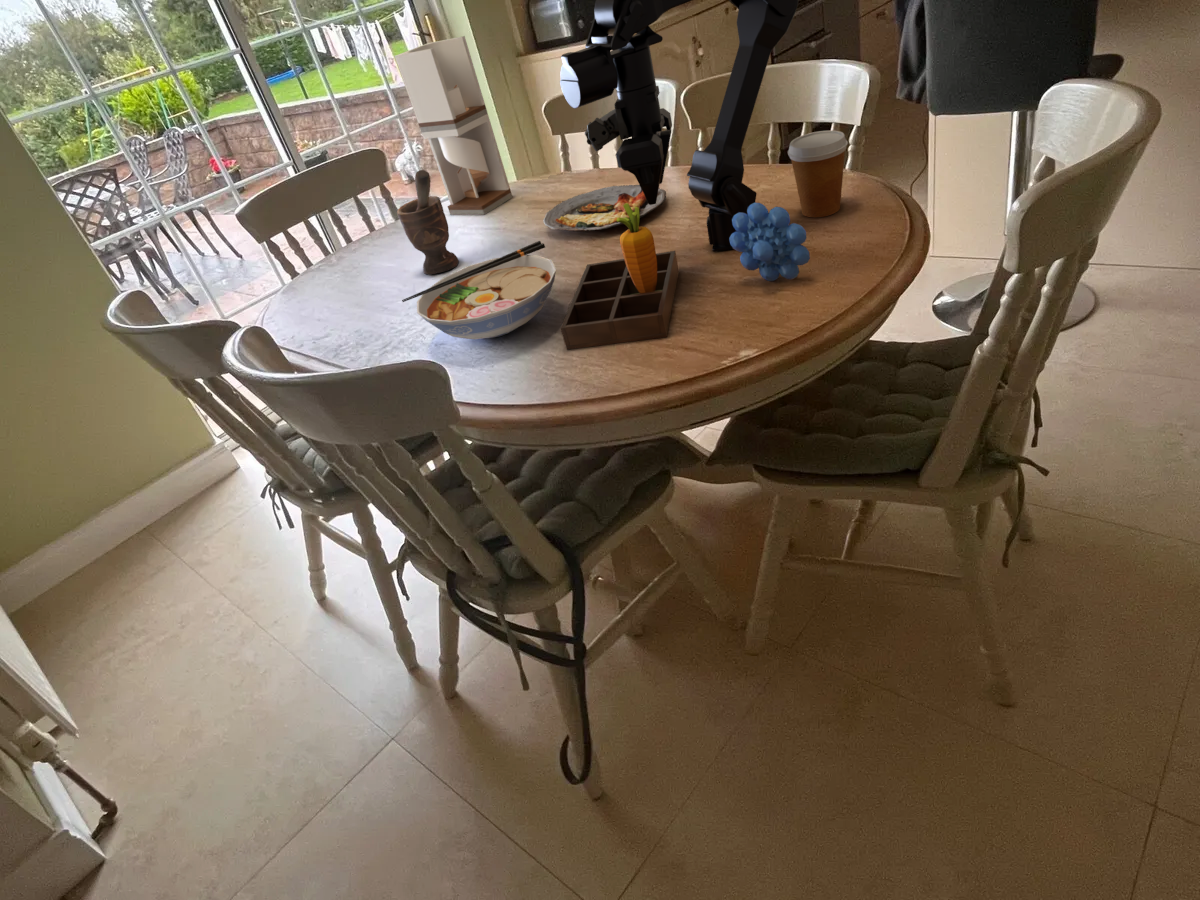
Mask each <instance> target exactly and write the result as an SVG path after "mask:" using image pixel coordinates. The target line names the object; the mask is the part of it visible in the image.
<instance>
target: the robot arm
mask: <svg viewBox="0 0 1200 900" xmlns="http://www.w3.org/2000/svg"><path fill="white" fill-rule="evenodd" d="M691 1H693V0H595V2H594V8H593V13H594V17H593V20H592V23H591V26H590V29H589V33H588V36H587V40H586V43H585V48H582V49H579V50H577V51H570V52H569V51H568V52H565V53H563V54H561V56H560V58H561V62H562V65H561V66H560V73H559V74H560V76H559V77H560V80H559V84H560V88H561V92H562V94H563V97H564V99H565V100H566V102H567V104H568V105H569V106H570V107H571V108H572V109H578V108H581V107H583V106H586V105H589V104H591V103H594V102H597V101H600V100H603V99H605V98H608V97H611V96H612V95H614V91H616V96H617V99H616V101H615V102H614V104H613V106H614V108H613V109H612V110H610V111H609V112H607V113H605V114H604V115H603V116H601V117H600V118H599V117H595V118H594V120H593V121H590V122H588V124H587V125H586V127H587V128H586V130H585V131H584V135H585V137H586V143H587V145H589V146H592V148H593V149H594V151H595V152H596V153H597V152H599V151H601V150H602V149H603V148H604V146H606V145H608V144H609V143H611V142H612V141H614V140H615V139H617V138H618V137H619V138H620V139H619V140H620V141H622V142H621V143H620V145H619V147H618V148H617V151H616V153H615V157H616V162H617V166H618V168H619V169H621V170H622V171H625V172H629V173H630V174H632V175H634V177H635V179H636V181H637V183H638V185H640V187H641V189H642V191H643V193H644V195H645V197H646V199H647V201H648V204H649V205H652V204H656V202H657V196H658V189H659V188H660V185H662V183H663V180H664V175H665V169H666V164H667V158H668V153H669V146H670V142H671V137H672V128H673V121H672V116H671V112H670V111H668V110H667V109H665V108H664V107H663V108H661V106H660V100H659V95H660V88H659V85H657V82H656V76H655V70H654V65H653V59H652V53H651V49H650V46H653V45H656V44H659V43H661V42H662V41H663V40H664V37H663V36H662V35H661V34H659V33H657V32H656V31H654V30H653V29H652V28H651V25H652V24H654V23H655V22H657V21H658V20H659V19H660V18H661V17H662V16H663V15H664V14H665V13H667V12H668V11H670V10H671V9H673V8H676V7H679V6H682V5H684V4H686V3H689V2H691ZM728 2H729V3H730V4H731V5H732V6H734V7H735V8H736V9H737V10H738V12H737V17H736V27H737V35H738V41H739V43H738V48H737V52H736V55H735V59H734V62H733V66H732V69H731V71H730V72H731V73H730V76H729V79H728V83H727V86H726V89H725V93H724V97H723V100H722V103H721V106H720V110H719V114H718V117H717V120H716V124H715V128H714V131H713V134H712V137H711V141H710V143H708V145H707V146H706V147H705V149H704V150H700V149H695V151H694V152H693V155H692V161H691V166H690V168H689V170H688V172H687V173H686V176H687V177H689V178H688V183H687V185H688V189H689V191H690V193H691V196H693V198H694V199H696V200H698V202H699V204H700V206H701V208H706V209H708V216H706V217H707V218H706V228H707V235H708V241H709V242H708V243H709V245H710V246H712V248H711V249H712V252H713V253H716V252H722V251H728V250H729V251H730V250H734V249H733V248H732V246H731V244H730V240H729V238H730V236H731V234H732V233H734V232H736V230H735V228H734V227H733V224H732V219H733V216H734V215H735V214H737V213H739V212H741V213H746V214H747V215H748V213H747V209H748V207H749V206H750V205H751V204H753V203H754V202H756V200H757V195H758V194H757V191H755V190H753V189H752V188H751V187H749V186H748V185H746V184H745V183H743V180H744V179H743V178H744V174H745V166H744V159H743V153H742V149H743V146H744V142H745V139H746V135H747V133H748V128H749V125H750V122H751V119H752V115H753V112H754V109H755V106H756V103H757V100H758V96H759V93H760V89H761V86H762V82H763V79H764V75H765V73H766V69H767V66H768V64H769V60H770V57H771V54H772V51H773V49H775V48H776V46H777V45H778V44H779V42H780V41H781V40H782V38H784V36H785V35H786V33H787V32H788V30H789V28H790V26H791V23H792V21H793V19H794V16H795V14H796V12H797V9H798V5H799V0H728ZM663 128H665V129H666V130H663Z"/></svg>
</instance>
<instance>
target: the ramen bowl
mask: <svg viewBox="0 0 1200 900" xmlns="http://www.w3.org/2000/svg"><path fill="white" fill-rule="evenodd" d="M545 245H546V244H545V243H542V241H541V240H537V241H535V242H533V243H531V244H529V245H526V246H524V247H521V248H519V249H518V250H515V251H511V252H510V253H508V254H505V255H503V256H501V257H494V258H491V259H487V260H483V261H481V262H477V263H473V264H470V265H468V266H465V267H463V268H461V269H458V270H456V271H455V272H452V273H450V274H448V275H446V276H444V277H443V278H440V280H438V281H436V282H435V283H434V284H432V285H431V286H429V287H427V289H424V290H421V291H420V292H417V293H414V294H413V295H411V296H408V297H406V298H403V299H401V302H402V303H404V302H407V301H410V300H412V299H414V298H418V297H419V299H418V300H417V301H416V313H417V314H418V315H419V316H420V317H421V318H422V319H423V320H424V321H426V322H427V323H429V324H430V325H431V326H433V327H435V328H436V329H438V330H439V331H441V332H443V333H444V334H446V335H448V336H451V337H454V338H459V339H467V340H468V339H469V340H480V339H493V338H494V339H495V338H500V337H502V336H505V335H508V334H510V333H512V332H514V331H515V330H516V329H518V328H519V327H521V326H523V325H525V324H527V323H528V322H529V321H530V320H531V319H533V318H534V317H535V316H537V315H538V314H539V312H540V311H541V310H542V309H543V307H544V306H545V303H546V301H547V300H548V298H549V296H550V293H551V291H552V288H553V285H554V282H555V279H556V274H557V268H556V266H555V264H554V262H553V260H552V259H550V258H547V257H544V256H541V255H539V254H533V253H535V252H538V251H541V250H543V249H546V246H545Z"/></svg>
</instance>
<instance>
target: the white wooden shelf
mask: <svg viewBox="0 0 1200 900" xmlns="http://www.w3.org/2000/svg"><path fill="white" fill-rule="evenodd" d="M469 49H470V48H469V46H468V43H467V40H466V36H465V35H463V36H458V37H452V38H448V39H447V38H446V39H443V40H436V41H431V42H428V43H427V42H426V43H425V44H422V45H419V46H417V47H415V48H412V49H409V50H407V51H404V52H402V53H399V54H396V55H394V59H395V62H396V64H397V67H398V71H399V73H400V76H401V78H402V81H403V84H404V87H405V90H406V93H407V96H408V99H409V101H410V105H411V107H412V110H413V113H414V116H415V118H416V122H417V124H418V127H419V130H420V132H421V135H422V138H423V140H425V139H427V141H428V144H429V147H430V149H431V152H432V155H433V158H434V161H435V164H436V167H437V171H438V172H439V175H440V178H441V181H442V184H443V186H444V189H445V192H446V196H447V198H448V202H449V204H448V205H447V209H448V212H449V215H450V216H474V215H475V216H485V215H486V214H488V213H490V212H491V211H493V210H494V209H496V208H497V207H499V206H501V205H502V204H504V203H506V202H507V201H508V200H510V199H512V198H513V194H512V191H511V186H510V183H509V180H508V177H507V173H506V170H505V167H504V164H503V159H502V156H501V153H500V150H499V145H498V144H497V140H496V136H495V133H494V130H493V126H492V124H491V120H490V116H489V113H488V110H487V107H486V104H485V99H484V95H483V93H482V89H481V85H480V83H479V79H478V76H477V73H476V69H475V66H474V63H473V59H472V56H471V52H470V50H469Z"/></svg>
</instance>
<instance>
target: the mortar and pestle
mask: <svg viewBox="0 0 1200 900" xmlns="http://www.w3.org/2000/svg"><path fill="white" fill-rule="evenodd" d="M431 181H432V180H431V176H430V173H429V172H428V171H427V170H425V169H419V170H418V171H416V172H415V176H414V185H415V192H416V196H417V198H415V199H412V200H411V201H408V202H406V203H404V204H403V205H401V206H400V207H399V208H398V209H397V210H396V214H397V217H398V219H399V222H400V223H401V226H402V229H403V231H404V233H405V235H406V237H407V239H408V241H409V242H410V243H411V244H412V246H413V248H414V249H416V250H417V251H419V252H421V253H422V254H423V255H424V256H425V257H424V261H423V263H422V271H423V272H422V273H424V274H425V275H429V276H431V275H435V274H436V275H437V274H441V273H445V272H449V271H450V270H452V269H454V268H456V267H457V266H458V264H459V258H458V257H457V255H456V254H455V253H454V252H452V251H449V250H448V249H447V244H448V241H449V239H450V233H449V224H448V220H447V217H446V214H445V211H444V207H443V204H442V201H441V198H440V197H439V196H437V195H431V196H430V192H431Z"/></svg>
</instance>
